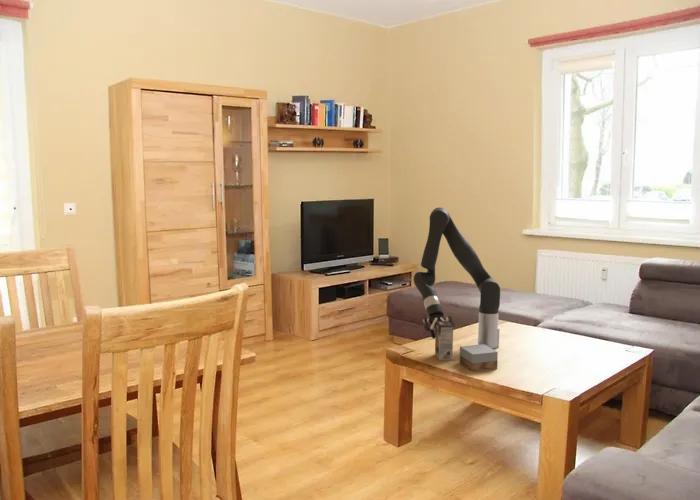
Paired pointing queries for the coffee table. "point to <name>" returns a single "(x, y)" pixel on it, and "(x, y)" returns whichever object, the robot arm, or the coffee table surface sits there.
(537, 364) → the coffee table surface
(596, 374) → the coffee table surface
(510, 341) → the coffee table surface
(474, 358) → the top slab
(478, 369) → the base slab
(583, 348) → the coffee table surface
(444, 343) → the coffee box
